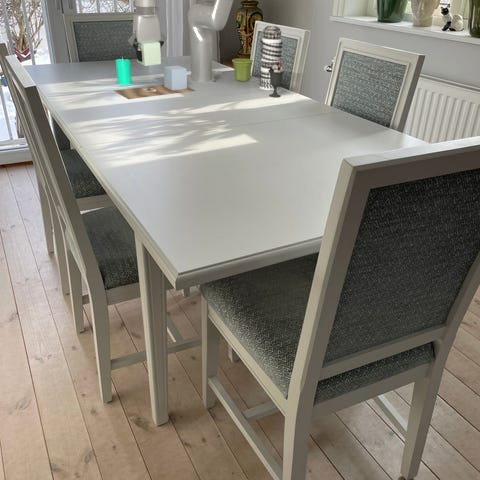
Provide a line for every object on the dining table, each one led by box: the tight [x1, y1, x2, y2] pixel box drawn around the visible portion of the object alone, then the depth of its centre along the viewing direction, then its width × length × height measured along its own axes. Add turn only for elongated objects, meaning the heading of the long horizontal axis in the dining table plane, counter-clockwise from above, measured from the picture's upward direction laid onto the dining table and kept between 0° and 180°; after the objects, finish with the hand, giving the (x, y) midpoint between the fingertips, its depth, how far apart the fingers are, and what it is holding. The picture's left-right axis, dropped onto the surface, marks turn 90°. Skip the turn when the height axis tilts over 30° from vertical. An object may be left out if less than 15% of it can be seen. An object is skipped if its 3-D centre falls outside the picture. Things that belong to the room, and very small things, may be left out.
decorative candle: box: [258, 25, 283, 91], centre depth 218 cm, size 9×9×25 cm
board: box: [113, 84, 197, 100], centre depth 210 cm, size 30×15×2 cm, turn 124°
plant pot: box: [231, 58, 254, 82], centre depth 234 cm, size 9×9×9 cm
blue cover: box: [163, 65, 188, 90], centre depth 213 cm, size 7×7×8 cm
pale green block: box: [135, 42, 162, 67], centre depth 202 cm, size 7×7×8 cm
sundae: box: [268, 57, 285, 98], centre depth 209 cm, size 7×7×15 cm
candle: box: [115, 56, 132, 86], centre depth 216 cm, size 6×6×12 cm
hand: (148, 59), depth 203 cm, fingers closed on pale green block, 7 cm apart
